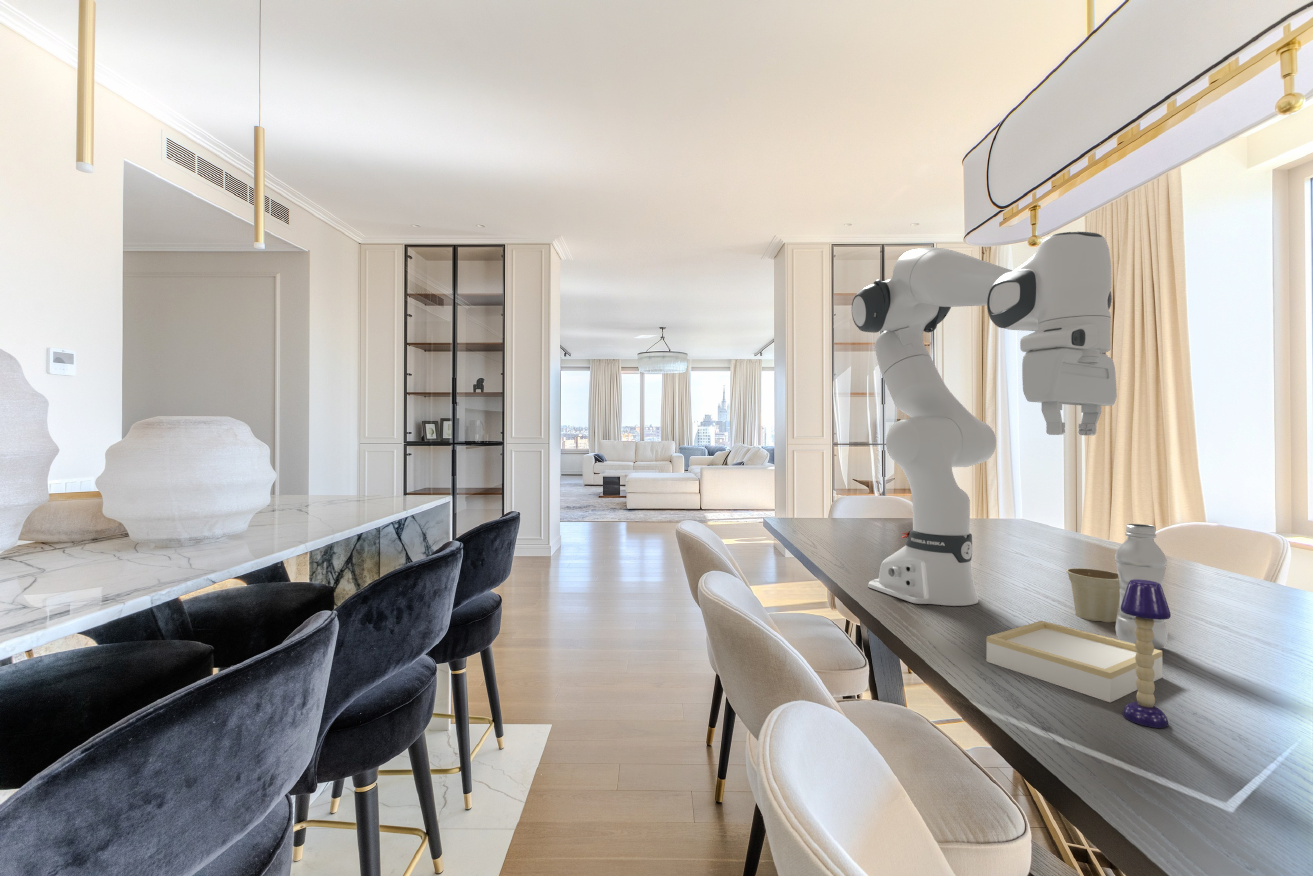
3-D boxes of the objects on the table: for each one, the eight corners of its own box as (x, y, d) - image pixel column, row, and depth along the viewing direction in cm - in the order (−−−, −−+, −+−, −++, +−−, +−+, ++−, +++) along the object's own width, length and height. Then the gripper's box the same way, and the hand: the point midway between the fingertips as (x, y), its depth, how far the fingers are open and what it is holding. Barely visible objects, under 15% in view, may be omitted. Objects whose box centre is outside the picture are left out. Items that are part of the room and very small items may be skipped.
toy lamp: (1111, 709, 73) (1111, 576, 73) (1151, 710, 73) (1151, 577, 73) (1139, 727, 68) (1139, 585, 68) (1182, 730, 68) (1182, 587, 68)
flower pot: (1131, 619, 110) (1131, 573, 110) (1123, 630, 104) (1124, 581, 104) (1071, 608, 117) (1071, 565, 117) (1061, 618, 111) (1061, 573, 111)
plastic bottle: (1178, 656, 91) (1178, 529, 91) (1128, 653, 92) (1129, 527, 93) (1152, 642, 97) (1152, 523, 98) (1106, 639, 99) (1106, 522, 99)
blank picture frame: (986, 661, 89) (986, 636, 89) (1041, 643, 97) (1041, 620, 97) (1110, 702, 75) (1110, 673, 75) (1162, 677, 83) (1162, 650, 83)
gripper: (1082, 350, 94) (1081, 435, 94) (1013, 338, 83) (1012, 434, 83) (1130, 345, 88) (1129, 435, 88) (1062, 331, 78) (1061, 434, 78)
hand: (1071, 435), depth 86 cm, fingers open, 8 cm apart
